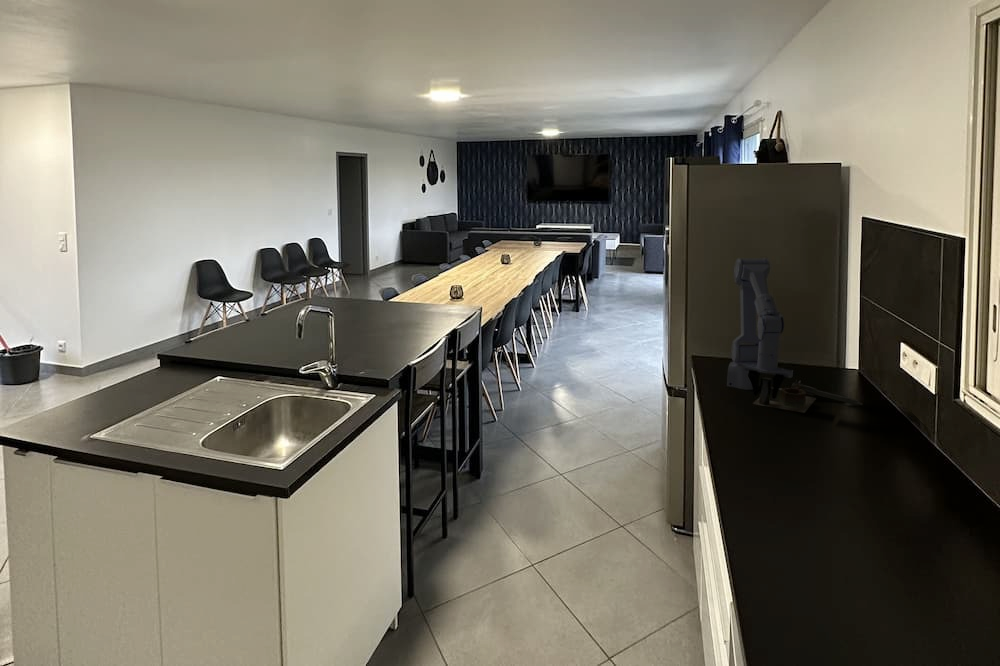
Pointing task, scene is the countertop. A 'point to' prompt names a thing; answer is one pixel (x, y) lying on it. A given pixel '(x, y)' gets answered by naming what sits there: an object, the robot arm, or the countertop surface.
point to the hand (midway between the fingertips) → (764, 396)
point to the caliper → (825, 394)
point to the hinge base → (790, 399)
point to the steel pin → (765, 391)
